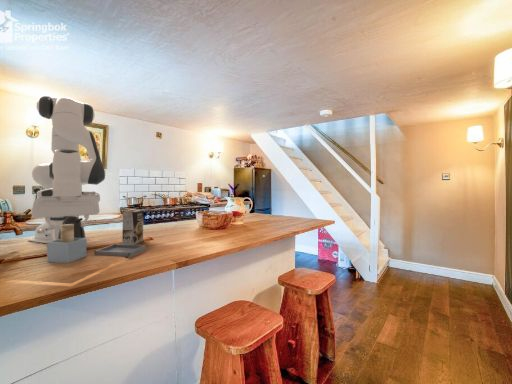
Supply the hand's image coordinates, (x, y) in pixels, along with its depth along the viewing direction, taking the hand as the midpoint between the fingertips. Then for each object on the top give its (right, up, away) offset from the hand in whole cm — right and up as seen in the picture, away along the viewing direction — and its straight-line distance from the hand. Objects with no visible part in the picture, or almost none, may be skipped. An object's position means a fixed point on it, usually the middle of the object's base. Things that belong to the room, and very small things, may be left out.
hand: (68, 227), depth 93 cm
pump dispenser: (-10, -12, +16) cm, 22 cm away
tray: (+14, -13, +12) cm, 22 cm away
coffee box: (+9, -12, +31) cm, 34 cm away
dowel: (-1, -12, 0) cm, 12 cm away
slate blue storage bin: (-1, -13, +1) cm, 13 cm away
